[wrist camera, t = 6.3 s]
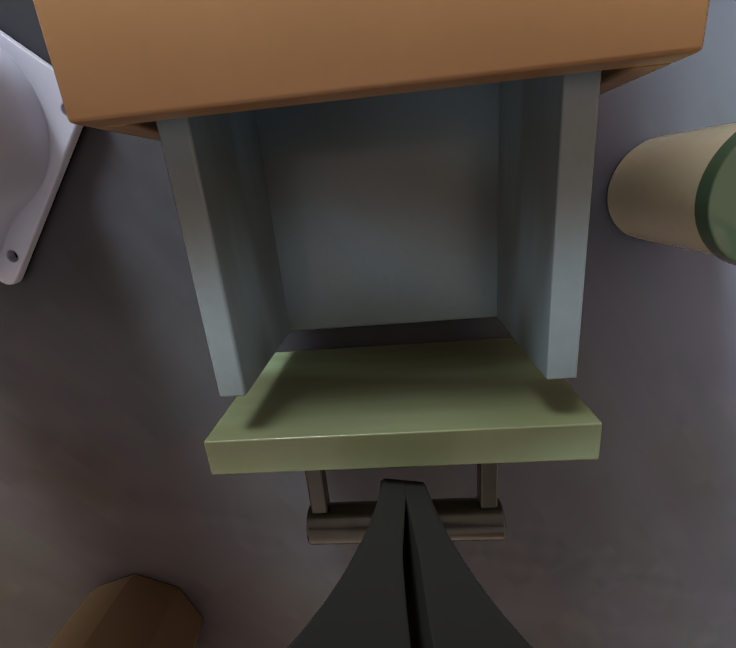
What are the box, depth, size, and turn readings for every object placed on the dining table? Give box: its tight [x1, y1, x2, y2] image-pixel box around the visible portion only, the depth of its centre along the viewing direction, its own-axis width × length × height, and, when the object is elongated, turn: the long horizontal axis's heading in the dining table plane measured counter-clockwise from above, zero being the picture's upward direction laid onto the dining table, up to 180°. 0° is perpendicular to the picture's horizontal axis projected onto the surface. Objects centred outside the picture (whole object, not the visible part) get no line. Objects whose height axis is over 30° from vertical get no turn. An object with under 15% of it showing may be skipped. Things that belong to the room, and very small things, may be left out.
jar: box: [607, 122, 736, 266], centre depth 13 cm, size 4×4×6 cm
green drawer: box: [156, 71, 602, 545], centre depth 14 cm, size 18×11×7 cm, turn 5°
